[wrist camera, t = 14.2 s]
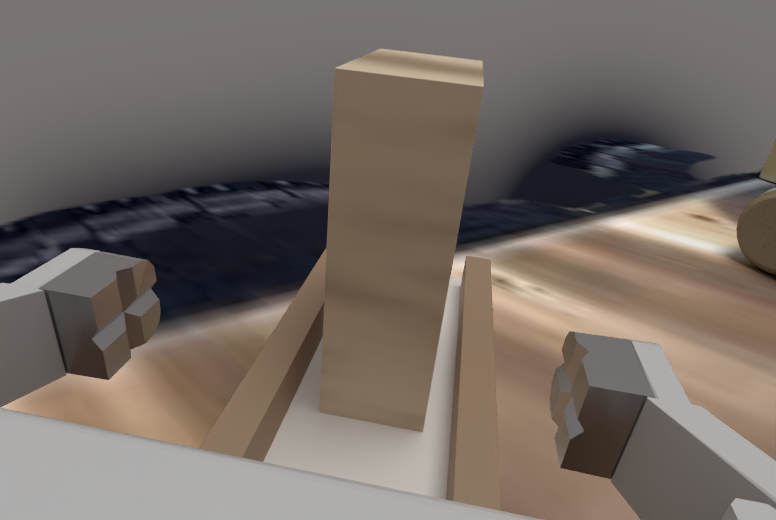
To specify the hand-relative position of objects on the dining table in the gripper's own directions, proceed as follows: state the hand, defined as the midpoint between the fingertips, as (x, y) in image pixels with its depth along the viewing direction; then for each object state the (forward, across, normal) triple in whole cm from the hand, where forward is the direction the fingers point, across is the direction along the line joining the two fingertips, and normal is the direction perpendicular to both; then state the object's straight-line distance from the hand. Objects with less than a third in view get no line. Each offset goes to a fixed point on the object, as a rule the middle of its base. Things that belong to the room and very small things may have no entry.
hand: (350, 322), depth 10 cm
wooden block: (+12, 0, +10) cm, 16 cm away
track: (+12, 0, +11) cm, 16 cm away
